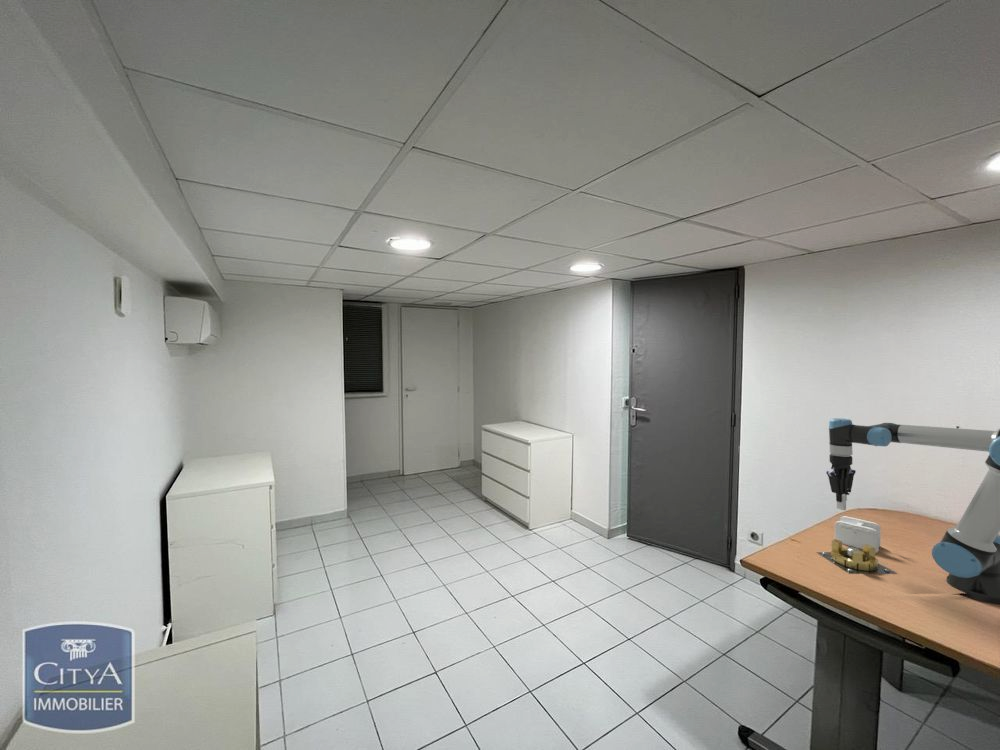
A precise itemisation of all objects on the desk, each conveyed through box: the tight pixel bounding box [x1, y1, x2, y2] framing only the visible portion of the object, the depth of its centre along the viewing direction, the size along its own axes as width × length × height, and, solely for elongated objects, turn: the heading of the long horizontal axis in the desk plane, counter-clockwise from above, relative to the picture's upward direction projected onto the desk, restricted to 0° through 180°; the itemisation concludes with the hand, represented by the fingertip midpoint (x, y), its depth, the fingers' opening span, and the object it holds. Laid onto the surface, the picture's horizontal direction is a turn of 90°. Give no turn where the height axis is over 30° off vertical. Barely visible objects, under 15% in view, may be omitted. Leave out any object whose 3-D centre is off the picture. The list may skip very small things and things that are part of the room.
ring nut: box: [831, 538, 879, 571], centre depth 167 cm, size 14×14×7 cm
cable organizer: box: [834, 515, 882, 554], centre depth 183 cm, size 15×11×12 cm
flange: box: [816, 546, 897, 575], centre depth 167 cm, size 18×18×7 cm
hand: (841, 508), depth 173 cm, fingers closed
